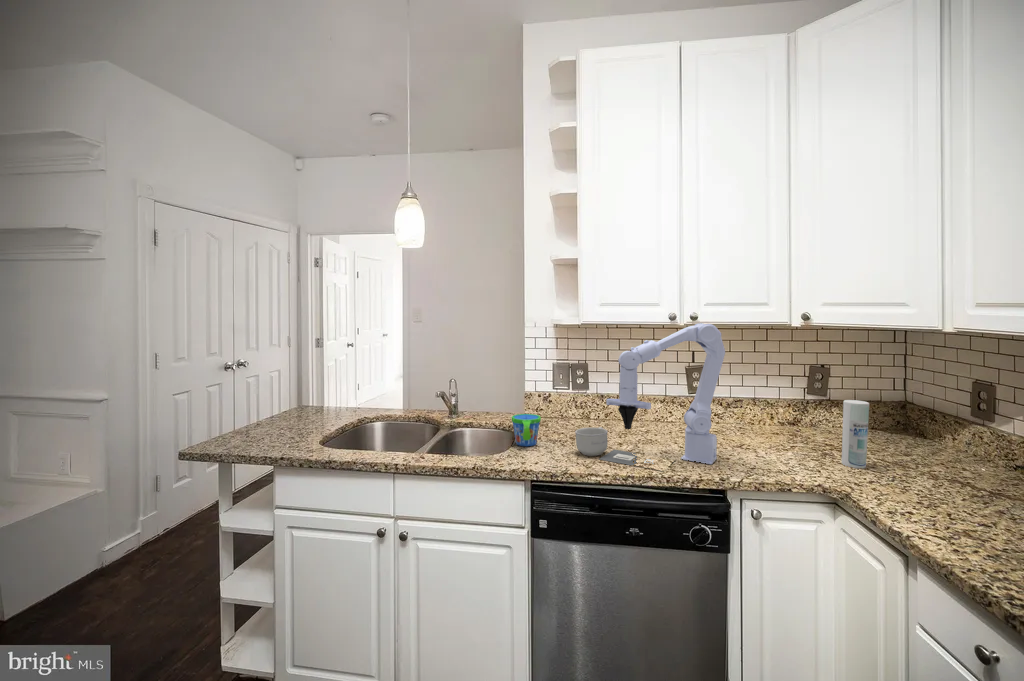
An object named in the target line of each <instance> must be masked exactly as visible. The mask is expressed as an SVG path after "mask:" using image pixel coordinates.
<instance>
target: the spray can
mask: <svg viewBox="0 0 1024 681" xmlns="http://www.w3.org/2000/svg"><path fill="white" fill-rule="evenodd" d="M869 414H870V403H869V402H867V401H864V400H856V399H845V400H843V404H842V435H841V436H842V437H841V465H842V464H843V465H842V466H844V465H845V467H847V466H848V468H851V467H853V468H852V469H860V468H862V469H866V468H867V457H868V456H867V454H868V437H869V435H868V434H869V420H870V419H869V416H870V415H869Z"/></svg>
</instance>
